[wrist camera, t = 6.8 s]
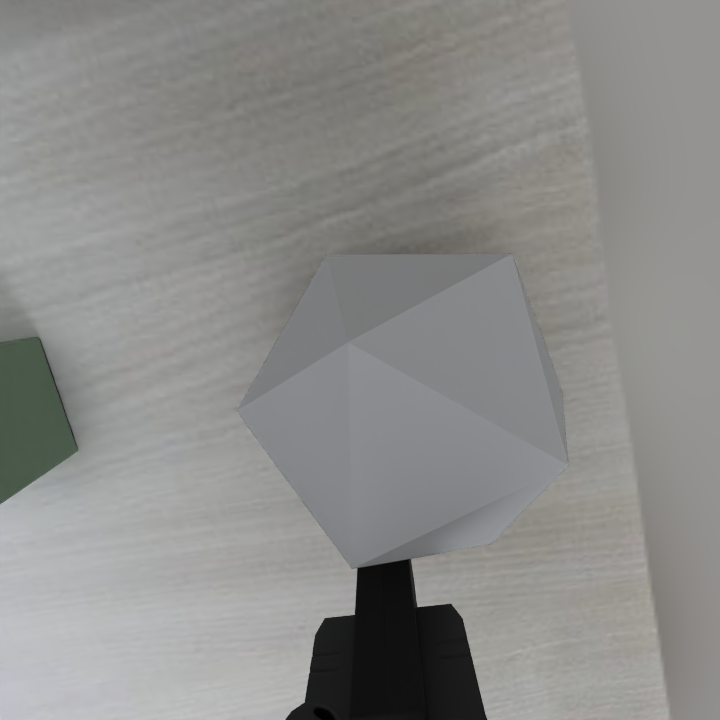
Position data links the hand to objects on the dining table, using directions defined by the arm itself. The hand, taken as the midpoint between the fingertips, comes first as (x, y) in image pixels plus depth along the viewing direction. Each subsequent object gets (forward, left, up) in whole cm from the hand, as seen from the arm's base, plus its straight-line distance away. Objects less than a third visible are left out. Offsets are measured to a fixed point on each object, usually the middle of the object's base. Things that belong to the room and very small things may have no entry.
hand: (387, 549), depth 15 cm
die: (-1, -5, -4) cm, 7 cm away
